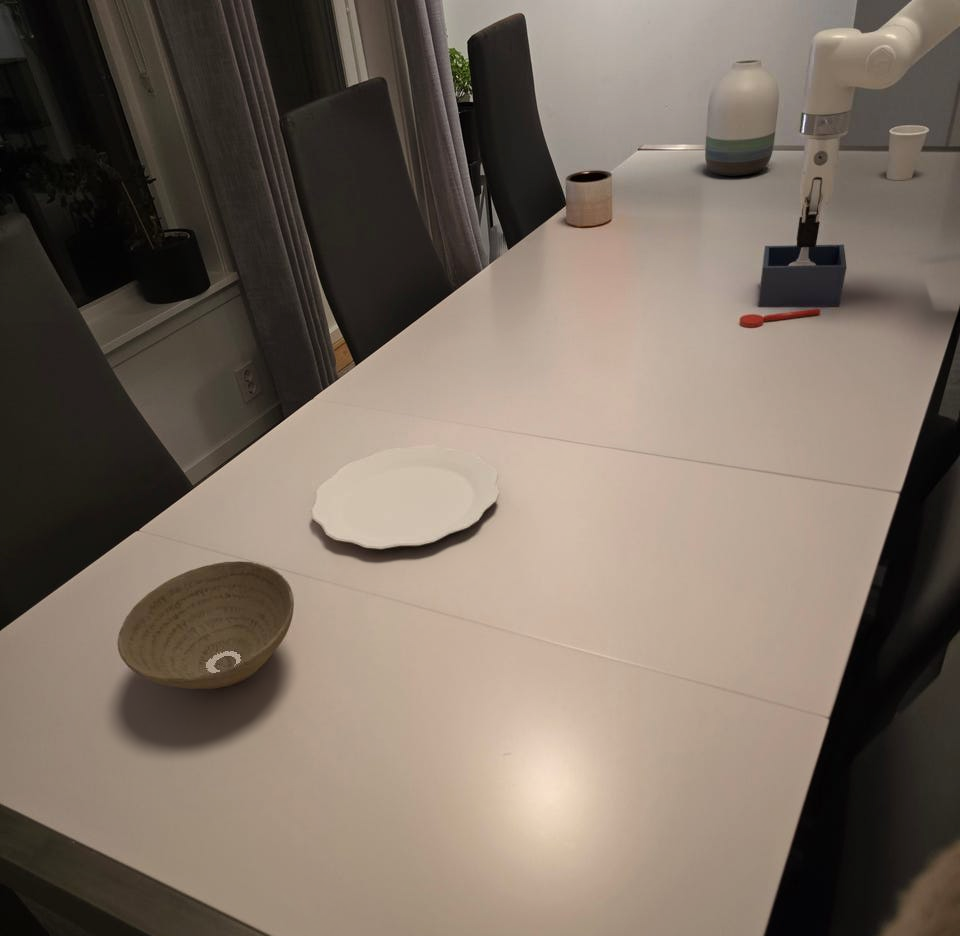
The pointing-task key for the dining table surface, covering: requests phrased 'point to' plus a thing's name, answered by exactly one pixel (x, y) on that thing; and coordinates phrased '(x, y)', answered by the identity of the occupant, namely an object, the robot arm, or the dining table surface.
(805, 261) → the chess piece
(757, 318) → the red spoon
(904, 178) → the dixie cup
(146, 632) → the bowl
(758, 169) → the vase
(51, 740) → the dining table surface
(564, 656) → the dining table surface
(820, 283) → the bin
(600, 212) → the planter
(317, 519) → the plate
